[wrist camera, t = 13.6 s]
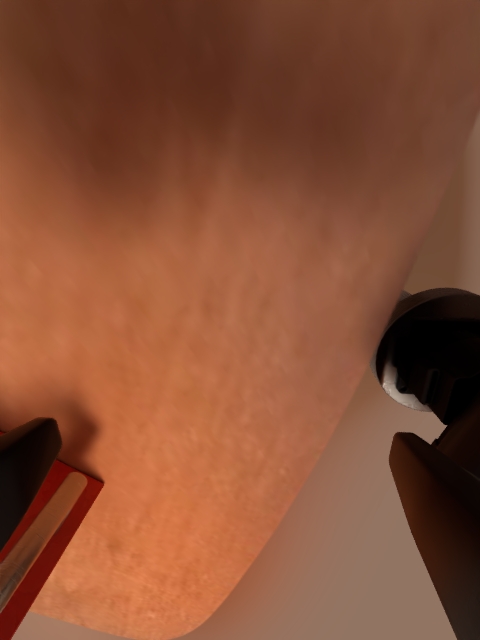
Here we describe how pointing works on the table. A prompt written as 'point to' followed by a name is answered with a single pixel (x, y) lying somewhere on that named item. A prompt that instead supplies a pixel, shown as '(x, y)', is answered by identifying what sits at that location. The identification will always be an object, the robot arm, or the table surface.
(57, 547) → the door
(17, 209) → the table surface
